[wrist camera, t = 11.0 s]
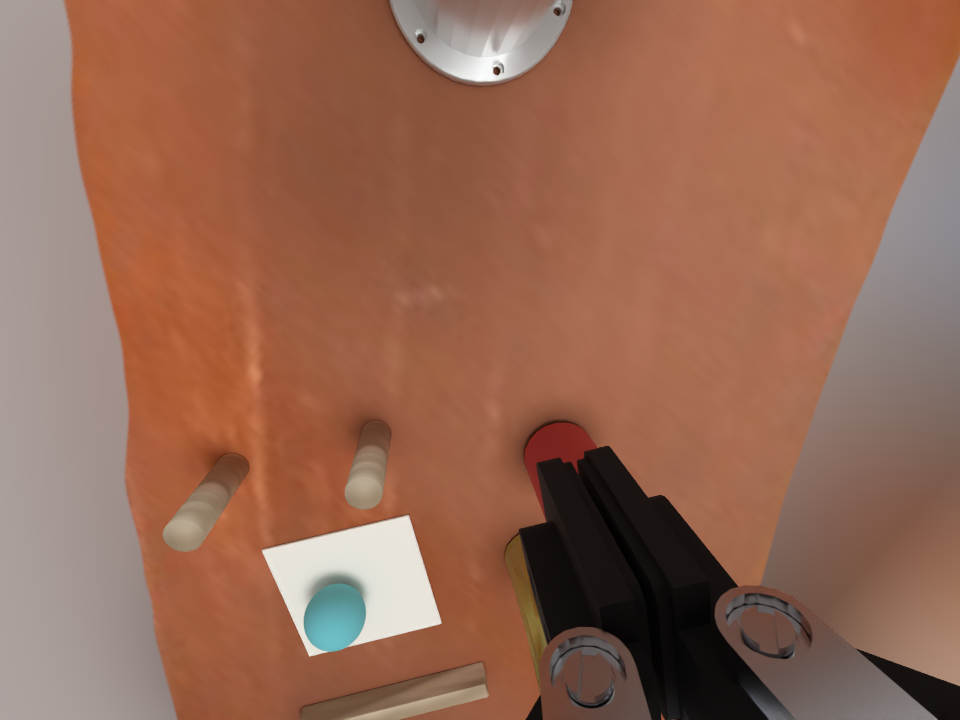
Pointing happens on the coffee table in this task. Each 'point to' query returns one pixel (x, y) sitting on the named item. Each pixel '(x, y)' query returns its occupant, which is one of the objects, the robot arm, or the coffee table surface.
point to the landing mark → (359, 576)
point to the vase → (526, 601)
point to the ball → (334, 617)
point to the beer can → (555, 449)
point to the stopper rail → (406, 697)
